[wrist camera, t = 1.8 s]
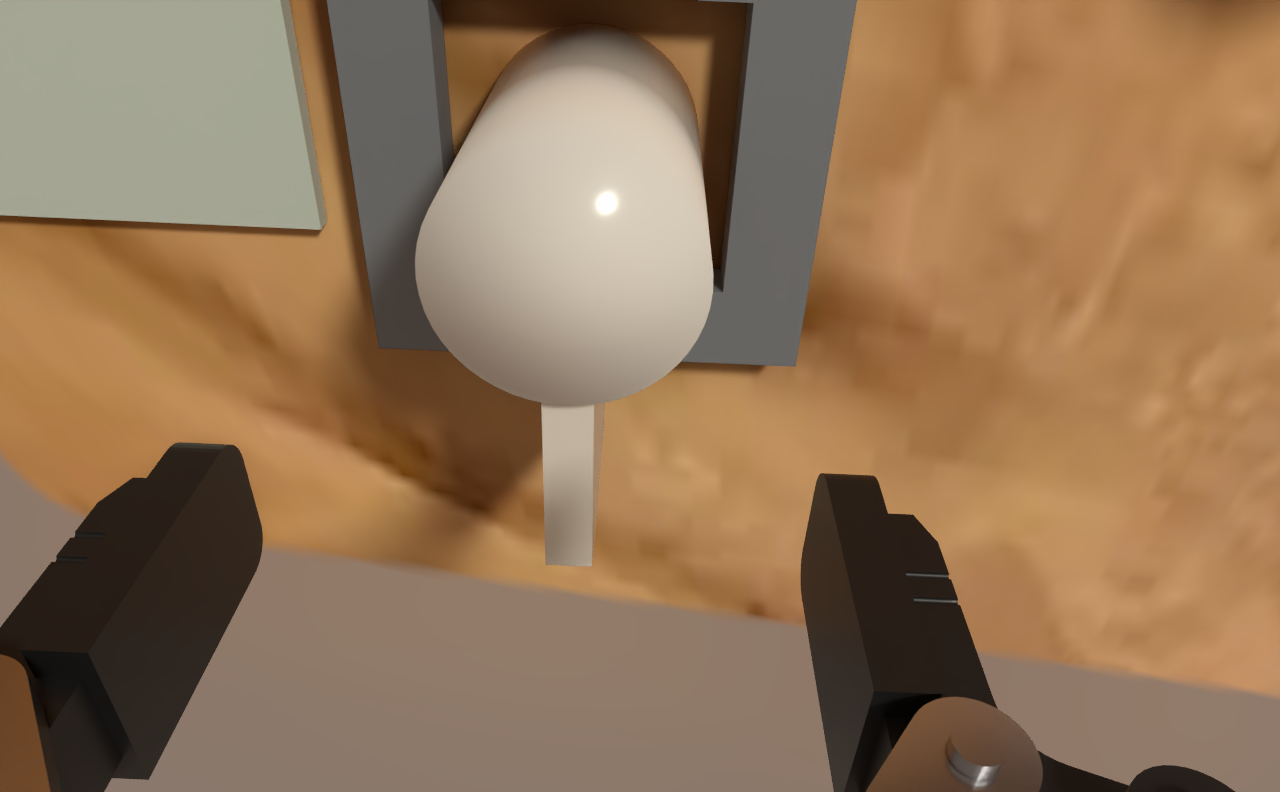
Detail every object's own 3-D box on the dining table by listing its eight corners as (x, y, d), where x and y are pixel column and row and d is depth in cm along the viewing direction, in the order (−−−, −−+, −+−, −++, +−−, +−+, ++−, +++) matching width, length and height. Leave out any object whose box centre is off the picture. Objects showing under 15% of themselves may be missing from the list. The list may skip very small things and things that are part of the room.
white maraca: (480, 18, 24) (398, 130, 16) (706, 29, 24) (727, 146, 16) (501, 378, 30) (449, 574, 23) (678, 386, 30) (684, 585, 23)
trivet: (-39, 204, 27) (-52, 212, 26) (-227, -244, 21) (-249, -245, 20) (327, 221, 27) (321, 229, 27) (251, -220, 21) (240, -220, 20)
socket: (390, 323, 29) (378, 348, 28) (326, -142, 22) (306, -137, 20) (789, 341, 29) (795, 366, 28) (862, -116, 22) (874, -109, 20)
